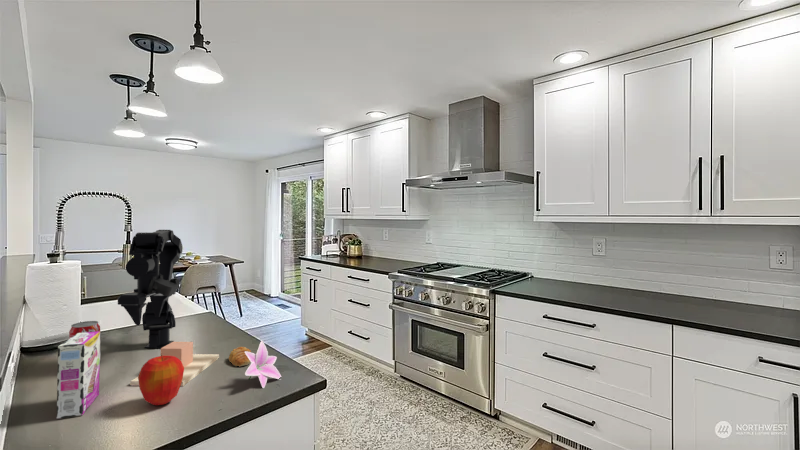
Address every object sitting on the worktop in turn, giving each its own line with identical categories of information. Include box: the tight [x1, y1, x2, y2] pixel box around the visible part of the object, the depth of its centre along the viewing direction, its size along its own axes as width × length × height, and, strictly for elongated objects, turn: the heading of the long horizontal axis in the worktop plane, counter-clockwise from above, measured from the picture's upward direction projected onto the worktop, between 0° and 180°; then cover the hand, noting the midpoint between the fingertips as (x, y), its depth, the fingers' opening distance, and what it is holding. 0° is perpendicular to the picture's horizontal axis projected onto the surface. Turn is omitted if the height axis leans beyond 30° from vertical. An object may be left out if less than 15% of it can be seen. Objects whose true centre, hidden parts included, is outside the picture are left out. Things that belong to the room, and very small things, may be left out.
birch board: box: [129, 353, 220, 387], centre depth 109 cm, size 20×14×1 cm
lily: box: [244, 340, 282, 389], centre depth 103 cm, size 12×12×10 cm
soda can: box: [68, 320, 102, 361], centre depth 111 cm, size 7×7×13 cm
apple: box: [137, 353, 184, 406], centre depth 90 cm, size 9×9×12 cm
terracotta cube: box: [160, 341, 194, 367], centre depth 110 cm, size 6×6×6 cm
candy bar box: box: [56, 330, 101, 420], centre depth 88 cm, size 11×5×16 cm, turn 23°
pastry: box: [227, 346, 252, 368], centre depth 116 cm, size 9×7×4 cm
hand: (148, 321), depth 118 cm, fingers open, 9 cm apart
